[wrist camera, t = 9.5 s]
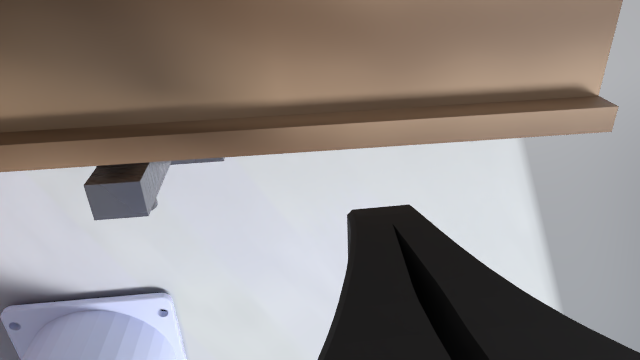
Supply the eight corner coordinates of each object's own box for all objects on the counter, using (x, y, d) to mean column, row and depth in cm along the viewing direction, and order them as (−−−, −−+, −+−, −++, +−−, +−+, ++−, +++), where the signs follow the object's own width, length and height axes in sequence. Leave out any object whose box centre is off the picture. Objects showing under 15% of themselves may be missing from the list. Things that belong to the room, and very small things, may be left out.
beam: (573, 114, 16) (626, 148, 14) (-304, 170, 15) (-421, 220, 12) (652, -223, 12) (750, -261, 9) (-577, -197, 10) (-843, -235, 8)
